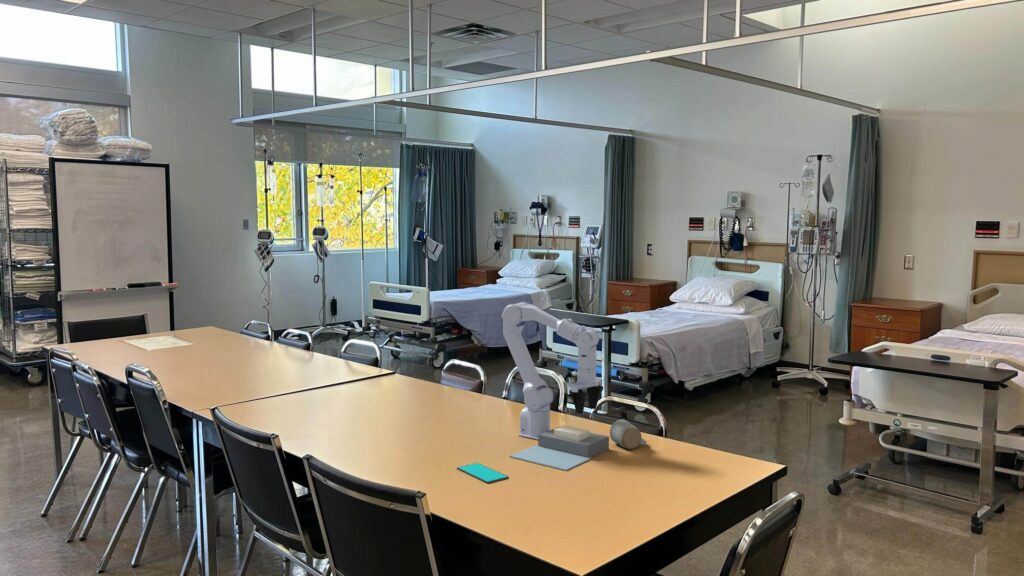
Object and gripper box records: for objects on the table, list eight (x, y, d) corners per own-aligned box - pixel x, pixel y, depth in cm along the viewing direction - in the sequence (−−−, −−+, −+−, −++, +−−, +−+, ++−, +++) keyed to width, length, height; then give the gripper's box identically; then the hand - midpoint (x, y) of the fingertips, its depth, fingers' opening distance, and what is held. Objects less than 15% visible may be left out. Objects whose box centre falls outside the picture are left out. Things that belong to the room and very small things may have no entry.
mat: (509, 457, 220) (509, 455, 220) (535, 446, 230) (535, 445, 230) (566, 471, 208) (566, 469, 208) (590, 459, 218) (590, 458, 218)
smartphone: (487, 482, 197) (456, 467, 209) (487, 485, 197) (456, 470, 209) (509, 476, 202) (477, 462, 214) (509, 479, 202) (477, 465, 214)
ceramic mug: (622, 451, 226) (623, 426, 225) (608, 444, 233) (609, 420, 233) (652, 448, 230) (653, 423, 229) (637, 441, 237) (638, 417, 237)
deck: (538, 447, 229) (538, 434, 229) (560, 438, 239) (560, 426, 239) (587, 458, 218) (588, 445, 218) (608, 449, 228) (609, 436, 228)
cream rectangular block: (554, 435, 228) (554, 429, 228) (564, 431, 233) (565, 425, 232) (578, 441, 222) (578, 434, 222) (589, 436, 227) (589, 430, 227)
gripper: (585, 373, 224) (584, 417, 225) (609, 366, 235) (609, 408, 236) (565, 370, 228) (565, 413, 229) (590, 363, 240) (590, 404, 241)
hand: (586, 410), depth 233 cm, fingers open, 7 cm apart
